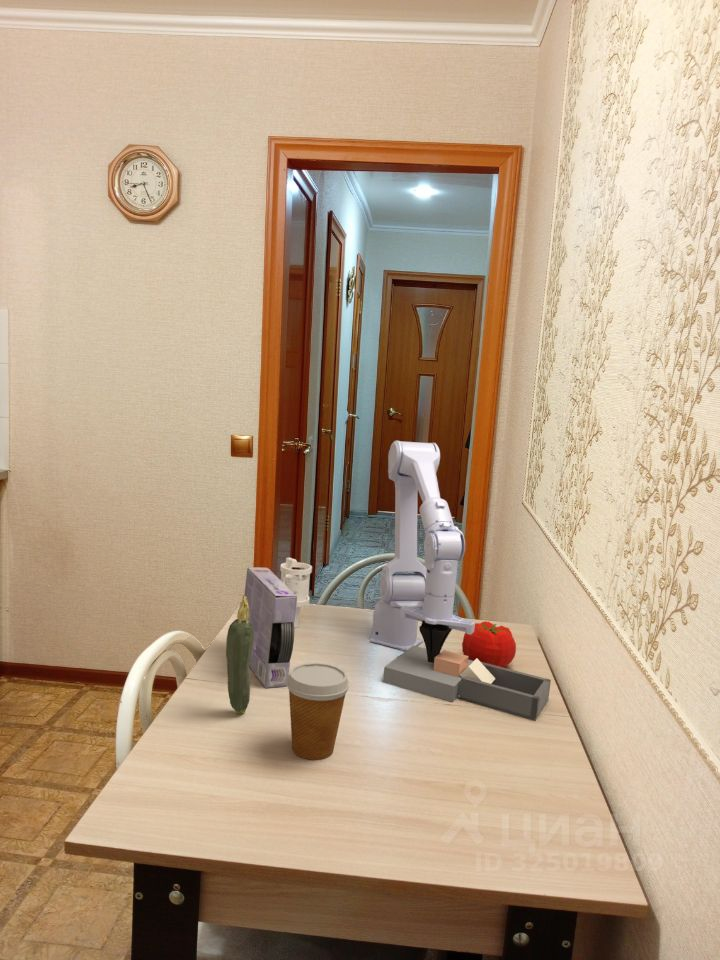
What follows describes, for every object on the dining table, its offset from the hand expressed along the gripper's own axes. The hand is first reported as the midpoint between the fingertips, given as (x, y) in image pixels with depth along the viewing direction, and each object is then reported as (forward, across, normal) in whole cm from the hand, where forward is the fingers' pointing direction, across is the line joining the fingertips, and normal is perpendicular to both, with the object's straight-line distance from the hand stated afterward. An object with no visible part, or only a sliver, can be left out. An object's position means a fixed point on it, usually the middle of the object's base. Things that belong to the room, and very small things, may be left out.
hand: (432, 660), depth 137 cm
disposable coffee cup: (+4, -5, -36) cm, 37 cm away
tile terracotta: (+1, +4, 0) cm, 4 cm away
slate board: (+4, 0, 0) cm, 4 cm away
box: (+4, +14, 0) cm, 15 cm away
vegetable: (+4, -21, -34) cm, 40 cm away
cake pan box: (+4, -28, -16) cm, 32 cm away
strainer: (+4, -37, +8) cm, 38 cm away
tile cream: (+2, +8, 0) cm, 8 cm away
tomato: (+4, +7, +14) cm, 16 cm away
